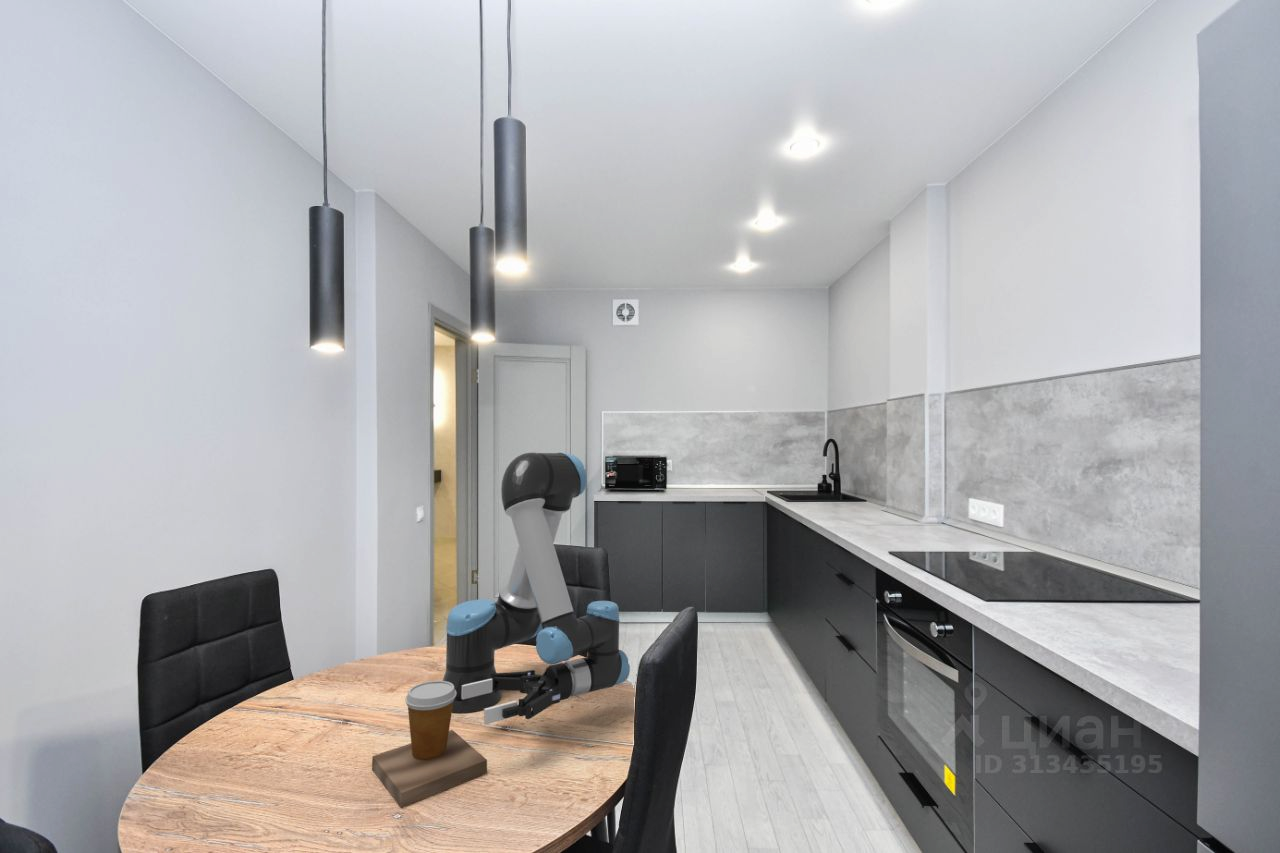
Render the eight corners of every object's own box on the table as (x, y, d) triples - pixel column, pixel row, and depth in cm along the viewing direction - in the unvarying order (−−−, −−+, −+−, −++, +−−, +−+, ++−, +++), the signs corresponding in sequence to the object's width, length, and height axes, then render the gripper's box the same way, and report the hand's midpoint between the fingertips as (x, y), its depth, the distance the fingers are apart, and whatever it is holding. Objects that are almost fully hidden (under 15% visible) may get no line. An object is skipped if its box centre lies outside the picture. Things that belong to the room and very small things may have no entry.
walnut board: (372, 769, 108) (372, 756, 108) (451, 741, 119) (452, 729, 119) (401, 807, 96) (401, 793, 96) (486, 773, 107) (487, 759, 107)
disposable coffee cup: (464, 744, 113) (466, 684, 113) (431, 769, 104) (433, 703, 104) (427, 735, 116) (429, 676, 117) (392, 758, 107) (394, 694, 108)
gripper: (594, 718, 115) (495, 749, 102) (541, 679, 135) (453, 701, 123) (594, 681, 115) (496, 707, 103) (542, 647, 135) (454, 666, 123)
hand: (472, 704), depth 113 cm, fingers open, 13 cm apart
